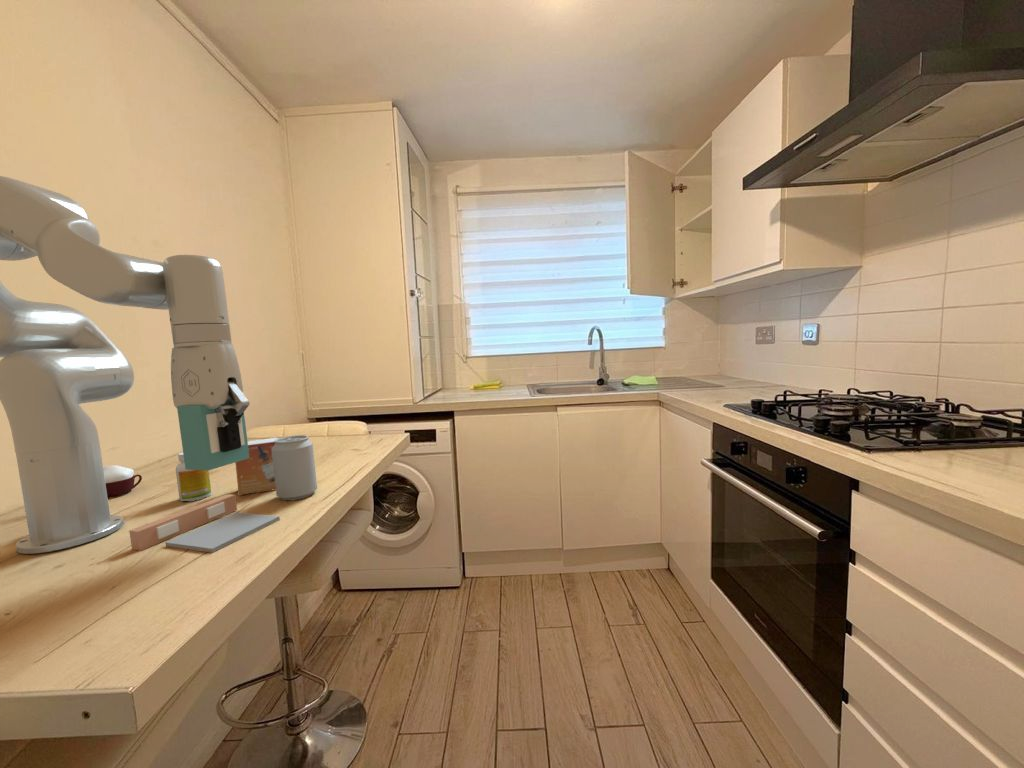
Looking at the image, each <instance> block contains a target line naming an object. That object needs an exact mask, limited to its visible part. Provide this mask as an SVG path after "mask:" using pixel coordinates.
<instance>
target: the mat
mask: <svg viewBox="0 0 1024 768" xmlns="http://www.w3.org/2000/svg"><path fill="white" fill-rule="evenodd" d="M280 520H281V517H280V516H278V515H270V514H269V515H268V514H258V513H248V512H240V511H239V512H236V511H235V512H233V513H231V514H228V515H226V516H225V517H223V518H222V517H221V518H220V519H216V520H214V521H213V522H209V523H207V524H205V525H202V527H201V526H200V527H199V528H198V527H197V529H196V528H195V529H193V530H192V531H191V530H190V531H188V532H187V533H183V534H182V535H180V536H176V537H175V538H173V539H171V540H170V539H169V540H168V541H165V546H166V547H170V548H175V549H177V548H178V549H182V550H183V549H184V550H192V551H197V552H198V551H199V552H206V553H212V554H213V553H215V552H217V551H219V550H221V549H223V548H226V547H228V546H229V545H231V544H233V543H236V542H238V541H239V540H242V539H243V538H245V537H247V536H249V535H251V534H253V533H255V532H258V531H260V530H261V529H264V528H266V527H268V526H270V525H272V524H274V523H276V522H278V521H280Z"/></svg>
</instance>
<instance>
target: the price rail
mask: <svg viewBox="0 0 1024 768" xmlns="http://www.w3.org/2000/svg"><path fill="white" fill-rule="evenodd" d="M235 510H237V511H238V507H237V498H236V494H230V493H229V494H224V495H221V496H219V497H216V498H214V499H213V498H212V499H211V500H209V501H206V502H203V503H200V504H197V505H194V506H192V507H190V508H187V509H184V510H182V511H178V512H176V513H173V514H170V515H168V516H165V517H162V518H160V519H157V520H154V521H152V522H149V523H147V524H144V525H143V524H142V525H141V526H140V525H139V526H138V527H135V528H133V529H131V530H128V532H129V537H130V538H129V539H130V545H131V550H133V551H134V550H135V551H144V550H145V549H148V548H150V547H153V546H155V545H157V544H160V543H163V542H164V541H165V542H166V541H167V540H170V539H171V538H173V537H178V536H179V535H181V534H182V535H183V534H185V533H186V532H189V531H191V530H194V529H196V528H198V527H200V526H199V525H201V526H203V525H205V524H204V523H206V524H208V523H210V522H212V521H211V520H213V521H215V520H217V519H216V518H218V519H219V517H220V518H222V517H224V515H225V516H227V515H229V514H228V513H230V514H232V513H234V512H236V511H235ZM233 511H234V512H233ZM231 512H232V513H231ZM226 514H227V515H226ZM214 519H215V520H214ZM209 521H210V522H209ZM207 522H208V523H207ZM202 524H203V525H202ZM197 526H198V527H197ZM195 527H196V528H195ZM193 528H194V529H193ZM190 529H191V530H190ZM188 530H189V531H188Z"/></svg>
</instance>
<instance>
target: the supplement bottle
mask: <svg viewBox="0 0 1024 768" xmlns="http://www.w3.org/2000/svg"><path fill="white" fill-rule="evenodd" d="M177 456H178V461H179V463H178V464H177V465H176V467H175V474H176V481H177V482H176V484H177V490H178V498H179V502H183V501H189V502H194V501H193V500H196V501H199V500H198V499H200V500H202V498H203V499H206V498H208V497H209V495H210V496H211V495H212V487H211V486H212V485H211V480H210V473H209V471H210V470H186V469H185V462H184V455H183V451H182V452H179V453H178V454H177ZM207 496H208V497H207ZM205 497H206V498H205Z"/></svg>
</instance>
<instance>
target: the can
mask: <svg viewBox="0 0 1024 768" xmlns="http://www.w3.org/2000/svg"><path fill="white" fill-rule="evenodd" d="M274 442H275V445H274V446H273V447H272V449H271V450H272V459H273V468H274V477H275V486H276V490H275V492H276V494H275V495H276V497H277V498H280V499H281V500H282V501H286V500H291V501H297V499H298V500H302V499H305V497H306V498H308V497H311V496H312V495H314V493H315V491H316V490H318V484H317V483H318V480H317V472H316V462H315V461H316V460H315V451H314V444H313V443H314V442H313V441H311V439H309V435H305V434H303V435H302V434H301V435H299V434H298V435H291V436H289V435H288V436H284V437H280V438H278V439H277V440H275V441H274ZM301 498H302V499H301Z"/></svg>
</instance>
